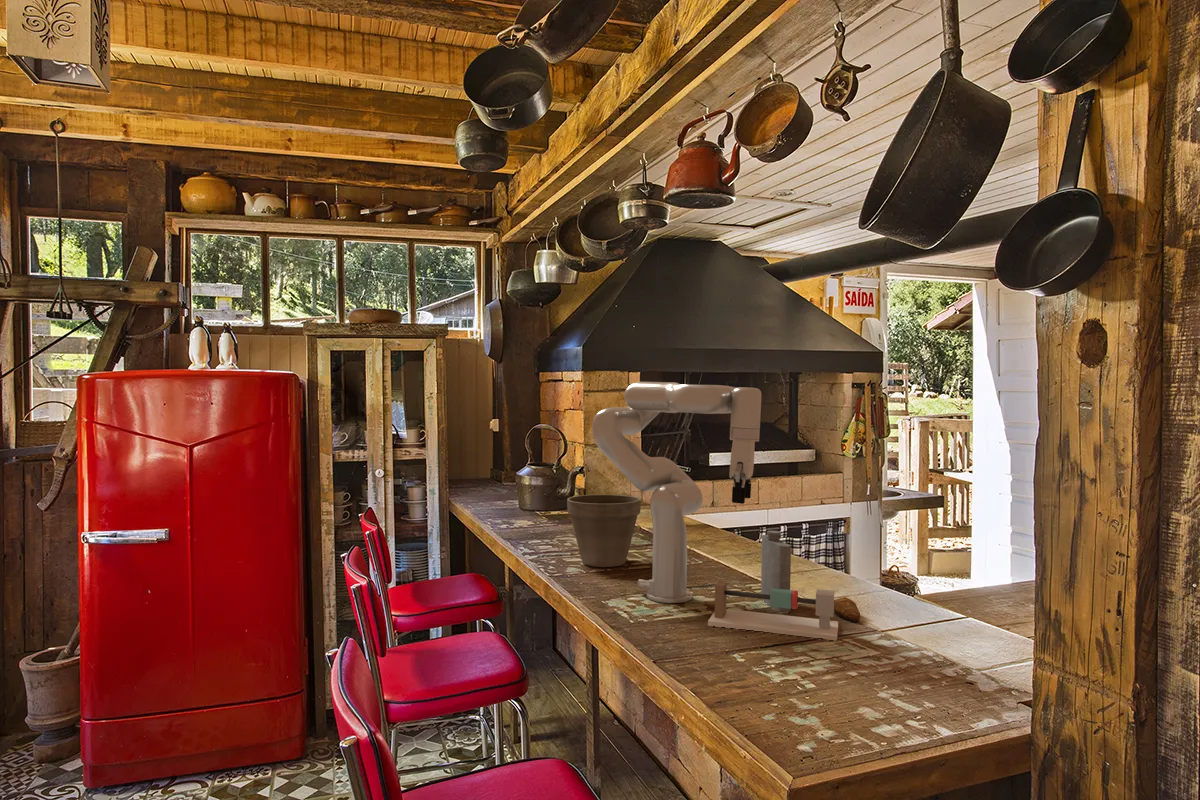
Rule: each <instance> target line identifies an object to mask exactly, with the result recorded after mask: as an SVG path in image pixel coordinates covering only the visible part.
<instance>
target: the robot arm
mask: <svg viewBox="0 0 1200 800" xmlns="http://www.w3.org/2000/svg"><path fill="white" fill-rule="evenodd" d="M623 396H624V397H623V398H624V401H625V404H626V405H627V406H628V407H626V406H625V407H623V406H622V407H621V406H620V407H617V406H615V407H607V408H604V409H602V410H599V411H598V412H597V413H596V414H595V416H593V417H594V418H593V419H592V420H593V421H592V425H591V426H592V427H591V430H592V431H591V432H592V436H593V440H594V442H595V444H596V446H597V448H598V449H599V450H600V452H601V453H602V454H603V455H604V456H605V457H607V459H608V460H610V461H611V463H613V464H614V465H615V467H617V469H618V470H619V471H620V472H621V473H622V474H623V475H624V476H625V478H627V479H628V480H629V481H630V483H632V485H633V486H634V487H635V488H636V489H637V490H639V491H640V492H652V493H651V495H650V499H649V506H650V513H651V521H652V566H651V567H652V568H651V569H652V570H651V571H652V573H651V574H652V576H651V579H649V580H647V579H646V580H645V579H640V578H639V579H638V580H637V587H639V588H641V589H647V591H646V595H645V596H646V598H647V599H649V600H651V601H654V602H659V603H666V604H679V603H686V602H689V601H691V600H692V598H693V594H692V592H691V591H689V590H687V582H688V581H687V578H688V577H687V574H688V573H687V572H688V568H687V567H688V563H687V562H688V529H687V526H686V522H685V518H684V517H685V516H688V515H691V514H694V513H696V512H698V511H699V510H700V508H701V507H702V505H703V500H704V499H703V498H704V497H703V494H702V490H701V489H700V487H699V486H698V484H697V483H696V482H695V481H694V480H693V479H692V478H691V477H690V476H689V475H688V474H687V473H686V472H685V471H684V470H682V468H681V467H680V466H678V464H676V463H675V462H674V461H673V460H671V459H669V458H667V457H665V456H652V457H651V456H649V455H648V454H646V453H645V452H643V450H642V449H641V448H640V447H639V446H638V445H637V444H635V443H634V442H633V441H631V440H630V439H629V438H627V437H626V436H634V435H636V434H639V433H640V432H642V431H643V430H644V429H645V428H646V427H647V426H648V425H649V424H650V423H651V421H653V420H654V419H655V418H656V417H657V416H658V415H659V414H660V413H669V414H677V413H687V414H704V415H710V414H711V415H715V414H719V415H720V414H721V415H722V414H730V424H729V425H730V427H729V440H730V441H732V445H731V452H730V461H729V473H728V474H729V478H730V479H733V481H732V482H733V483H732V486H731V487H732V490H731V494H732V495H731V502H732V503H733V504H739V505H740V504H741V505H742V504H743V505H744V504H745V503H746V499H751V495H752V493H751V492H752V477H753V474H754V466H755V451H756V450H755V443H756V442H760V431H761V430H760V429H761V410H762V409H761V408H762V391H761V390H760V389H759V388H757V387H743V386H742V387H741V386H739V387H735V386H730V385H721V384H686V383H685V384H683V383H682V384H680V383H679V382H674V381H673V382H672V381H671V382H670V381H669V382H665V381H663V382H662V381H636V382H633V383H631V384H629V386H627V387H626V389H625V391H624V394H623Z"/></svg>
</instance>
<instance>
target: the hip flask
mask: <svg viewBox="0 0 1200 800" xmlns="http://www.w3.org/2000/svg"><path fill="white" fill-rule="evenodd" d="M780 536H781V531H779V530H766V534H762V535H761V571H760V572H761V577H760V578H761V579H760V581H761V582H760V584H761V585H760V594H769V595H770V591H771V589H772V588H775V589H785V590H791V574H792V573H791V569H792V568H791V567H792V565H791V564H792V560H791V558H792V550H791V549H792V545H791V544H789V543H786V542H783V541H781V540H780V538H781V537H780ZM763 600H764V602H765V603H767V604H768V605H769V606H770V600H768V599H763ZM763 600H762V601H763ZM764 602H763V603H764ZM765 603H764V604H765ZM768 605H767V606H768ZM769 606H768V607H769ZM772 608H774V609H775V610H777V611H779V612H785V613H786V612H790V613H791V609H788V608H779V607H772ZM772 608H771V609H772ZM775 610H774V611H775ZM777 611H776V612H777ZM779 612H778V613H779Z"/></svg>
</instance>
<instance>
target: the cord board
mask: <svg viewBox="0 0 1200 800" xmlns="http://www.w3.org/2000/svg"><path fill="white" fill-rule="evenodd" d="M727 583H728V581H726V580H718V581H717V582H716V584H715V585H714V589H715V590H714V611H713V613H712V614H711V616H710V618H709V619H708V620H707V627H713V626H715V628H721V627H725V629H730V628H736V629H735V630H738V629H746V630H754V631H764V632H772V633H782V634H790V635H798V636H806V637H815V638H823V639H830V640H837V641H838V635H837V634H839V633H838V632H839V621H837V620H831V618H834V614H835V613H834V600H835V590H831V589H822V588H821V589H820V588H817V589H816V592H815V598H805V597H799V591H798V590H796V589H795V590H792V589H791V590H792V599H791V602H792V603H791V605H792V607H791V609H792V610H798V607H799V606H798V605H799V604H807V605H815V616H818V618H814V617H813V618H812V617H802V616H794V615H786V614H774V613H766V612H758V611H750V610H749V611H748V610H739V609H731V608H730V609H729V608H727V596H730V597H731V596H733V597H740V598H751V599H758V600H759V599H760V600H762V599H768V600H770V595H769V594H761V593H756V592H748V591H738V590H730V589H729V590H728V589H727ZM746 630H745V631H746ZM754 631H753V632H754Z"/></svg>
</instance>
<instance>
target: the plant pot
mask: <svg viewBox="0 0 1200 800" xmlns="http://www.w3.org/2000/svg"><path fill="white" fill-rule="evenodd" d="M641 502H642V499H641V498H640V497H638V496H633V495H623V494H606V493H605V494H582V495H574V496H571V497H568V498H567V500H566V505H567V514H568V515H570V518H571V523H572V527H573V531H574V536H575V540H576V543H577V548H578V552H579V556H580V559H581V562H582V563H583V564H584V565H586V566H588V567H593V568H594V567H595V568H597V567H598V568H613V567H614V568H615V567H620V566H622V565H625V563H626V562H627V558H628V555H629V551H630V548H631V544H632V540H633V536H634V531H635V527H636V523H637V518H638V515H640V514H641V507H642V506H641V505H642V503H641Z"/></svg>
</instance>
